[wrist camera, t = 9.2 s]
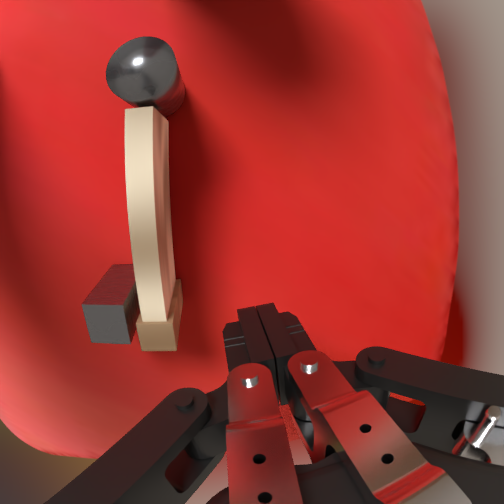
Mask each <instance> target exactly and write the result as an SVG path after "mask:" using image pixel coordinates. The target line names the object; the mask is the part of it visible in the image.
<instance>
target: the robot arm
mask: <svg viewBox="0 0 504 504" xmlns="http://www.w3.org/2000/svg"><path fill="white" fill-rule="evenodd" d="M237 313H238V319H239V321H238V322H232V323H227V324H226V326H225V328H224V330H223V337H224V344H225V351H226V357H227V363H228V369H229V375H228V377H227V381H226V382H225V383H224V384H223V385H222V386H221V387H219V388H218V389H216V390H214V391H212V392H209V393H207V394H204V392H202V391H201V390H199V389H195V388H182V389H178V390H176V391H174V392H172V393H170V394H169V395H168V396H167V397H166V398H165V399H164V400H163V401H162V402H161V403H159V404H158V405H157V406H156V407H155V408H154V409H153V410H152V411H151V412H150V413H149V414H148V415H147V416H145V417H144V418H143V419H142V420H141V421H140V422H139V423H138V424H137V425H136V426H135V427H133V428H132V429H131V430H130V431H129V432H128V433H127V434H126V435H125V436H123V437H122V438H121V439H120V440H119V441H118V442H117V443H116V444H114V445H113V446H112V447H111V448H110V449H109V450H108V451H106V452H105V453H104V454H103V455H102V456H101V457H100V458H98V459H97V460H96V461H95V462H94V463H93V464H91V466H89V467H88V468H87V469H86V470H84V471H83V472H82V473H81V474H80V475H79V476H77V477H76V478H75V479H74V480H72V481H71V482H70V483H69V484H68V485H66V486H65V487H64V488H63V489H62V490H60V491H59V492H58V493H57V494H55V495H54V496H53V497H52V498H50V499H49V500H48V501H46V502H45V503H44V504H185V503H186V502H187V500H188V499H189V498H190V497H191V496H192V494H193V493H194V492H195V491H196V490H197V489H198V488H199V486H200V485H201V484H202V483H203V482H204V480H205V479H206V478H207V476H208V475H209V474H210V473H211V472H212V471H213V469H214V468H215V467H216V466H217V464H218V463H219V462H220V461H221V459H222V458H223V456H224V454H225V451H227V465H228V466H227V467H228V485H229V487H227V488H225V489H223V490H222V491H220V492H219V493H218V494H216V495H215V496H213V497H212V498H211V499H210V500H209V501H208V502H207V503H206V504H504V376H503V375H499V374H493V373H489V372H483V371H478V370H474V369H470V368H465V367H461V366H456V365H452V364H447V363H443V362H439V361H435V360H431V359H427V358H423V357H419V356H415V355H411V354H407V353H403V352H399V351H395V350H392V349H388V348H384V347H369V348H366V349H364V350H362V351H360V352H359V353H358V355H357V357H356V361H343V362H338V361H331V359H330V358H329V357H328V356H327V355H326V354H324V353H322V352H319V351H317V350H316V348H315V347H314V345H313V343H312V342H311V340H310V338H309V337H308V335H307V333H306V332H305V331H304V328H303V327H302V325H301V323H300V322H299V320H298V318H297V317H296V316H295V315H293V314H291V313H290V312H283V313H278V311H277V309H276V307H275V305H274V303H269V304H263V305H258V306H256V309H255V306H253V307H248V308H243V309H237ZM390 392H392V393H396V394H399V395H402V396H406V397H409V398H413V399H416V400H419V401H422V402H423V403H424V404H425V405H424V406H420V405H416V404H412V403H409V402H406V401H402V400H399V399H396V398H393V397H389V396H390ZM279 401H280V404H281V405H285V404H289V407H290V409H291V419H292V422H293V424H294V426H295V428H296V430H297V432H298V434H299V436H300V438H301V440H302V442H303V444H304V446H305V448H306V450H307V452H308V454H309V456H310V459H311V462H312V464H308V465H294V463H293V459H292V454H291V450H290V446H289V441H288V437H287V433H286V428H285V424H284V420H283V417H281V414H280V410H279Z"/></svg>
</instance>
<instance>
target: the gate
mask: <svg viewBox="0 0 504 504" xmlns="http://www.w3.org/2000/svg"><path fill="white" fill-rule="evenodd" d="M125 173H126V193H127V208H128V220H129V231H130V241H131V249H132V258H133V265H134V273H135V280H136V286H137V293H138V299H139V305H140V311H141V312H140V314H139V317H138V320H137V322H136V327H137V332H138V336H139V341H140V345H141V350H142V351H177V344H178V336H179V328H180V320H181V313H182V306H183V296H182V286H181V279H176V277H175V266H174V254H173V241H172V227H171V209H170V187H169V121H168V120H167V119H166V118H165V117H164V116H163V115H162V114H161V113H159V112H158V111H157V110H156V109H155V108H154V107H153V106H150V107H140V108H132V109H125Z"/></svg>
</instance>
